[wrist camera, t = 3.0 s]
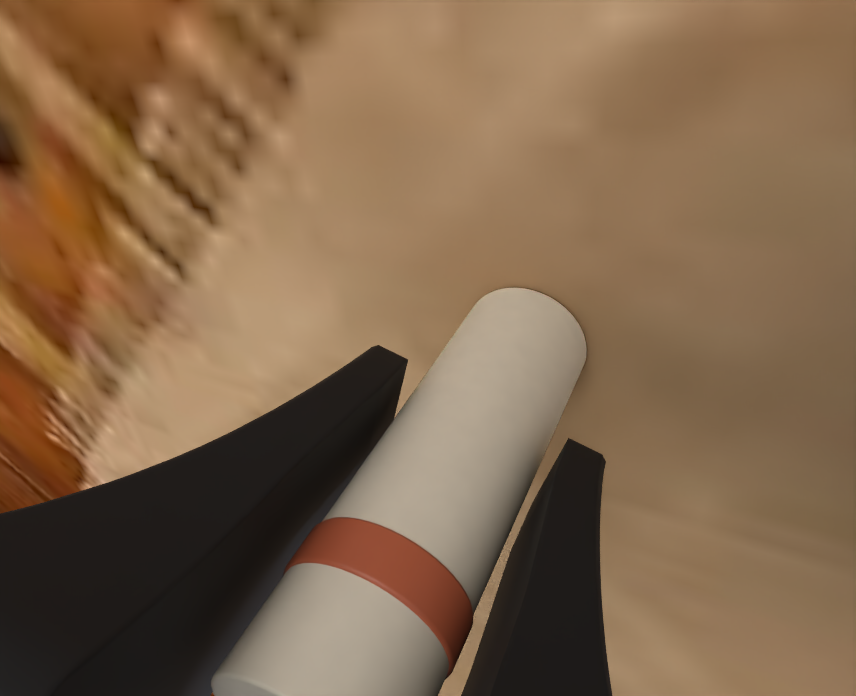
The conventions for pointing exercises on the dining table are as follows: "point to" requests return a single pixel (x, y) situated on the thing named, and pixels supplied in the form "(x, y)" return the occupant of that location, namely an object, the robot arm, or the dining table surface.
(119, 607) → the robot arm
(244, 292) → the dining table surface
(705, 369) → the dining table surface
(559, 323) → the dowel
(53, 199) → the dining table surface
